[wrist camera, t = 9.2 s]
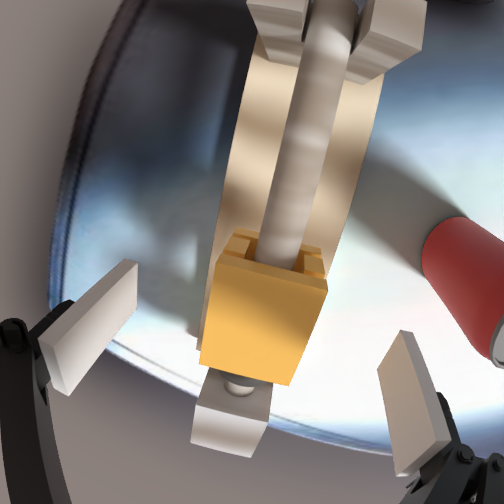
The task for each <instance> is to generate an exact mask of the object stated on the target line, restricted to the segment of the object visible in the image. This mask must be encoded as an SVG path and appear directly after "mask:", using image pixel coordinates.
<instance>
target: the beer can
mask: <svg viewBox="0 0 504 504" xmlns="http://www.w3.org/2000/svg"><path fill="white" fill-rule="evenodd" d="M421 261H422V270H423V272H424V275H425V277H426V279H427V280H428V282H429V283H430V284H431V286H432V287H433V289H434V290H435V291H436V293H437V294H438V295H439V297H440V298H441V300H442V301H443V303H444V304H445V305H446V307H447V308H448V310H449V311H450V313H451V314H452V316H453V317H454V319H455V320H456V322H457V323H458V325H459V326H460V328H461V329H462V331H463V332H464V334H465V335H466V337H467V338H468V340H469V342H470V343H471V345H472V346H473V347H474V348H475V349H476V350H477V351H478V352H479V353H480V354H481V355H482V356H484V357H485V358H487V359H489V360H491V361H492V363H493V364H494V365H495V366H496V367H498V368H502V369H504V242H503V241H501V240H500V239H499V238H497V237H496V236H494V235H493V234H491V233H490V232H488V231H487V230H485V229H484V228H482V227H481V226H479V225H478V224H476V223H475V222H473V221H471V220H470V219H468V218H465V217H458V216H457V217H453V218H449V219H446V220H445V221H443V222H441V223H440V224H438V225H437V226H436V227H435V228H434V229H433V231H432V232H431V233H430V234H429V236H428V238H427V240H426V242H425V244H424V247H423V251H422V256H421Z"/></svg>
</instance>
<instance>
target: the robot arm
mask: <svg viewBox="0 0 504 504" xmlns="http://www.w3.org/2000/svg"><path fill="white" fill-rule="evenodd" d="M458 1H462V2H466V3H472V4H485V3H489V2H492V1H494V0H458ZM137 275H138V263H137V262H134V261H131V260H127V259H124V260H122V261H121V262H120V263H119V264H118V265H117V266H115V267H114V268H113V269H112V270H111V271H110V272H108V273H107V274H106V275H105V276H104V277H103V278H102V279H100V280H99V281H98V282H97V283H96V284H95V285H94V286H93V287H92V288H90V289H89V290H88V291H87V292H86V293H85V294H84V295H83V296H82V297H80V298H79V299H78V300H77V301H76V302H74V301H72V300H70V299H69V300H67V301H64V302H62V303H60V304H58V305H57V306H56V307H55V308H54V309H53V310H52V312H50V313H48V314H47V315H46V317H44V318H43V319H42V320H41V321H40V322H39V323H38V324H37V325H35V326H34V327H33V328H32V329H31V330H30V331H29V332H28V330H27V326H26V324H25V323H24V321H23V320H21V319H18V318H10V319H6V320H4V321H3V322H1V323H0V427H1V442H2V452H3V461H4V468H5V475H6V481H7V487H8V492H9V497H10V502H11V504H72V503H71V500H70V496H69V493H68V489H67V486H66V483H65V479H64V475H63V471H62V468H61V463H60V459H59V455H58V450H57V446H56V441H55V436H54V431H53V424H52V418H51V412H50V405H49V398H48V389H47V386H46V384H47V383H48V382H49V381H50V379H51V381H52V384H53V387H54V388H55V389H57V390H58V391H60V392H62V393H63V394H65V395H67V396H69V395H70V394H71V393H72V391H73V390H74V388H75V387H76V386H77V384H78V383H79V382H80V380H81V379H82V378H83V376H84V375H85V374H86V372H87V371H88V370H89V369H90V367H91V366H92V364H93V363H94V362H95V361H96V359H97V358H98V357H99V355H100V354H101V353H102V352H103V350H104V349H105V348H106V346H107V345H108V344H109V343H110V341H111V340H112V339H113V338H114V336H115V335H116V334H117V333H118V331H119V330H120V329H121V328H122V326H123V325H124V324H125V323H126V321H127V320H128V319H129V318H130V316H131V315H132V314H133V313H134V311H135V310H136V309H137ZM377 372H378V376H379V381H380V385H381V390H382V395H383V400H384V405H385V411H386V416H387V422H388V427H389V433H390V439H391V446H392V452H393V459H394V466H395V474H396V476H411V475H412V474H414V473H415V472H416V471H417V470H419V469H420V476H419V477H418V478H416V479H415V480H414V481H412V482H411V483H410V484H408V485H407V487H406V488H409V487H410V486H411V485H412V486H411V488H410V489H409V491H408V492H407V494H406V495H405V497H404V498H403V500H402V501H401V502H400V504H504V457H503V456H502V455H501V454H499V453H493V454H491V455H490V456H489V457H488V458H486V459H483V458H479V457H475V455H474V452H473V451H472V449H471V448H470V447H469V446H467V445H465V444H461V441H460V438H459V435H458V432H457V429H456V426H455V423H454V420H453V419H452V414H451V411H450V408H449V405H448V402H447V400H446V399H445V398H444V396H443V395H442V394H441V392H436V391H435V388H434V385H433V382H432V380H431V377H430V374H429V372H428V369H427V367H426V364H425V361H424V359H423V356H422V354H421V351H420V349H419V346H418V344H417V342H416V339H415V337H414V335H413V332H408V331H403V330H400V331H399V333H398V335H397V336H396V338H395V340H394V342H393V343H392V345H391V347H390V349H389V350H388V352H387V354H386V355H385V357H384V359H383V360H382V362H381V364H380V365H379V367H378V368H377ZM475 496H476V501H475V502H474V498H475Z"/></svg>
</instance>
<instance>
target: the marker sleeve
mask: <svg viewBox="0 0 504 504" xmlns="http://www.w3.org/2000/svg"><path fill="white" fill-rule="evenodd" d="M259 234H260V233H259V232H255V231H251V230H247V229H243V228H239V227H236V229H235V230H234V232H233V236H231V237H230V239H229V241H228V242H227V244H226V246H225V247H224V249H223V253H221V254H220V256H219V258H218V259H217V261H216V263H215V269H214V274H213V280H212V286H211V292H210V298H209V303H208V309H207V315H206V321H205V328H204V334H203V340H202V346H201V353H200V359H199V364H201V365H205V366H208V367H212V368H215V369H219V370H222V371H226V372H230V373H234V374H238V375H242V376H246V377H250V378H254V379H258V380H263V381H267V382H272V383H276V384H281V385H286V386H289V384H290V382H291V380H292V377H293V375H294V373H295V371H296V368H297V366H298V364H299V362H300V359H301V357H302V355H303V352H304V350H305V348H306V345H307V343H308V340H309V338H310V336H311V333H312V331H313V328H314V326H315V323H316V321H317V318H318V316H319V313H320V311H321V308H322V306H323V303H324V300H325V298H326V295H327V293H328V287H327V281H326V279H324V277H325V269H324V264H323V259H321V257H322V253H321V248H318V247H314V246H310V245H306V244H303V243H301V246H300V249H299V253H298V256H297V259H296V263H295V266H294V269H293V271H290V270H286V269H282V268H278V267H274V266H270V265H266V264H262V263H258V262H254V261H253V259H254V255H255V251H256V247H257V242H258V238H259Z"/></svg>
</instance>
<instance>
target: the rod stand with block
mask: <svg viewBox="0 0 504 504" xmlns="http://www.w3.org/2000/svg"><path fill="white" fill-rule="evenodd" d="M310 1H311V0H247V3H246V4H247V6H248V8H249V11H250V13H251V15H252V18H253V20H254V22H255V25H256V27H257V30H258V34H257V38H256V42H255V46H254V50H253V54H252V58H251V62H250V66H249V70H248V75H247V79H246V83H245V88H244V92H243V96H242V101H241V105H240V110H239V114H238V119H237V123H236V128H235V133H234V137H233V142H232V147H231V152H230V157H229V161H228V166H227V171H226V176H225V181H224V187H223V192H222V197H221V202H220V207H219V213H218V218H217V224H216V229H215V235H214V240H213V246H212V252H211V258H210V263H209V269H208V275H207V281H206V287H205V294H204V300H203V306H202V313H201V319H200V326H199V333H198V340H197V347H196V350H199V351H201V346H202V340H203V334H204V328H205V321H206V315H207V309H208V303H209V298H210V292H211V286H212V280H213V274H214V269H215V263H216V261H217V259H218V258H219V256H220V254H221V253H223V249H224V247H225V246H226V244H227V242H228V241H229V239H230V237H231V236H233V232H234V230H235V229H236V227H239V228H243V229H247V230H251V231H255V232H259V233H260V234H259V238H258V242H257V247H256V251H255V255H254V259H253V261H254V262H258V263H262V264H266V265H270V266H274V267H278V268H282V269H286V270H290V271H293V269H294V266H295V263H296V259H297V256H298V253H299V249H300V246H301V243H303V244H306V245H310V246H314V247H318V248H321V253H322V257H321V259H323V264H324V269H325V277H324V279H326V278H327V275H328V273H329V270H330V267H331V264H332V261H333V258H334V255H335V252H336V249H337V246H338V243H339V240H340V237H341V234H342V231H343V228H344V225H345V222H346V219H347V216H348V212H349V209H350V206H351V203H352V199H353V196H354V193H355V189H356V186H357V182H358V179H359V175H360V172H361V168H362V165H363V161H364V157H365V154H366V150H367V146H368V142H369V138H370V134H371V130H372V126H373V122H374V118H375V114H376V110H377V105H378V101H379V97H380V92H381V88H382V83H383V78H384V73H385V72H386V71H387V70H389V69H391V68H392V67H394V66H396V65H397V64H399V63H401V62H402V61H404V60H406V59H407V58H409V57H411V56H412V55H414V54H416V53H418V52H419V51H421V48H422V41H423V34H424V26H425V17H426V8H427V2H426V1H424V0H367V2H366V4H365V5H364V7H363V9H362V11H361V13H360V14H359V15H358V9H359V8H358V6H357V4H356V3H354V2H353V1H351V0H314V3H312V2H310ZM272 389H273V383H272V382H267V381H263V380H258V379H254V378H250V377H246V376H242V375H238V374H234V373H230V372H226V371H222V370H219V369H215V368H212V367H209V370H208V373H207V376H206V378H205V381H204V384H203V387H202V389H201V392H200V395H199V398H198V401H197V403H196V408H195V415H194V421H193V428H192V435H191V443H194V444H197V445H200V446H204V447H208V448H211V449H215V450H219V451H223V452H228V453H232V454H236V455H241V456H245V457H251V455H252V454H253V452H254V450H255V448H256V446H257V444H258V442H259V440H260V438H261V436H262V434H263V432H264V430H265V428H266V426H267V424H268V420H269V413H270V405H271V397H272Z"/></svg>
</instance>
